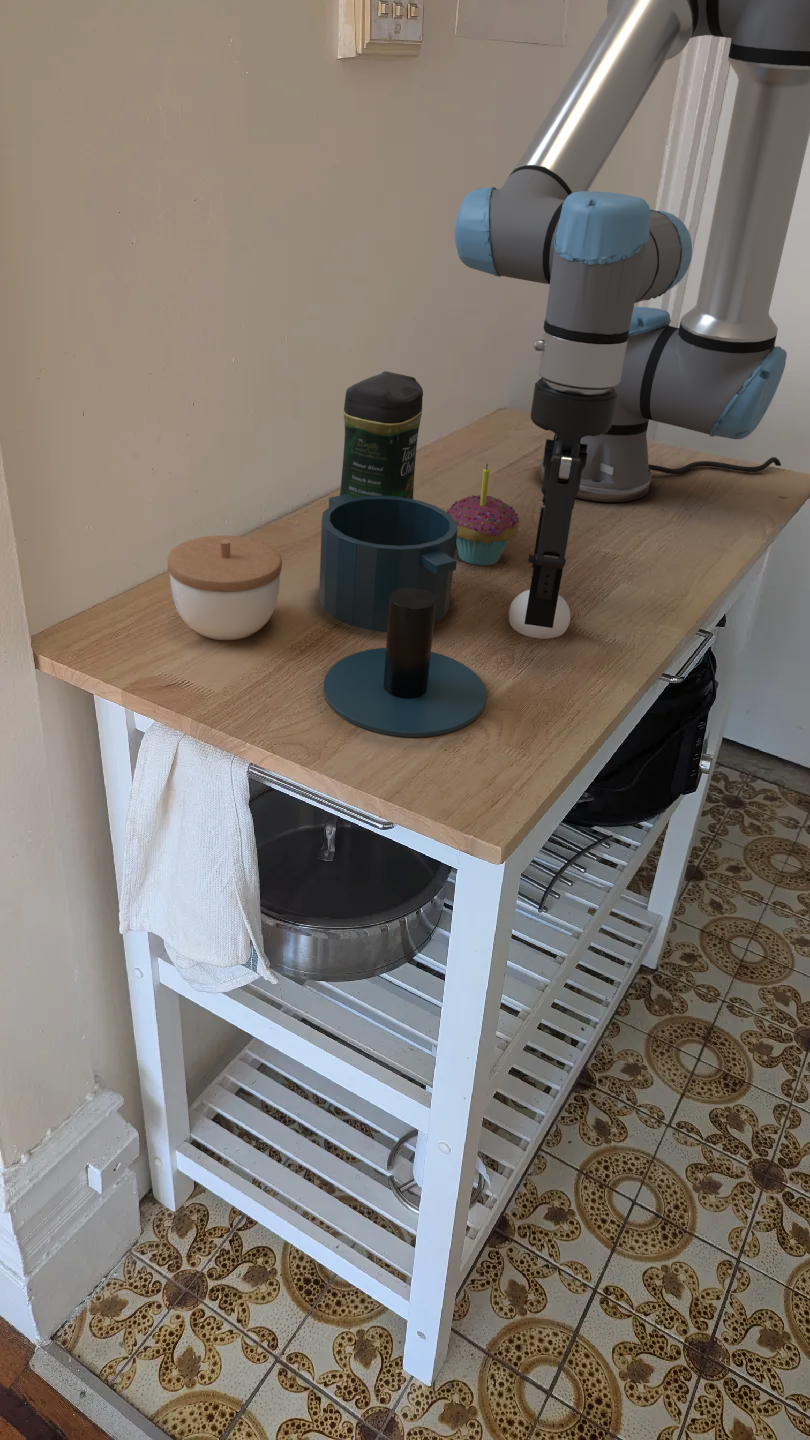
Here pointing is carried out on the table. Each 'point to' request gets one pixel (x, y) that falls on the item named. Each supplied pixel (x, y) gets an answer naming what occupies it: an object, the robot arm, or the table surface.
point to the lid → (406, 678)
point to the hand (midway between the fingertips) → (541, 595)
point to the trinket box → (225, 584)
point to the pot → (383, 556)
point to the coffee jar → (381, 436)
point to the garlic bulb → (518, 623)
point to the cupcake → (483, 526)
